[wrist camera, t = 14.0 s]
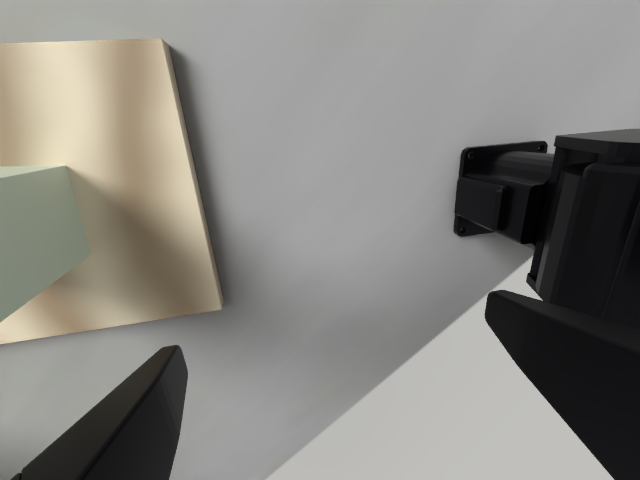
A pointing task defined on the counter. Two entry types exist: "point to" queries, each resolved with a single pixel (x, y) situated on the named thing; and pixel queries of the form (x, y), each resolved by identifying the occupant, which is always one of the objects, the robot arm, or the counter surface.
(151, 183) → the post base
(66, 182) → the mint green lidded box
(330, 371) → the counter surface
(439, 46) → the counter surface
